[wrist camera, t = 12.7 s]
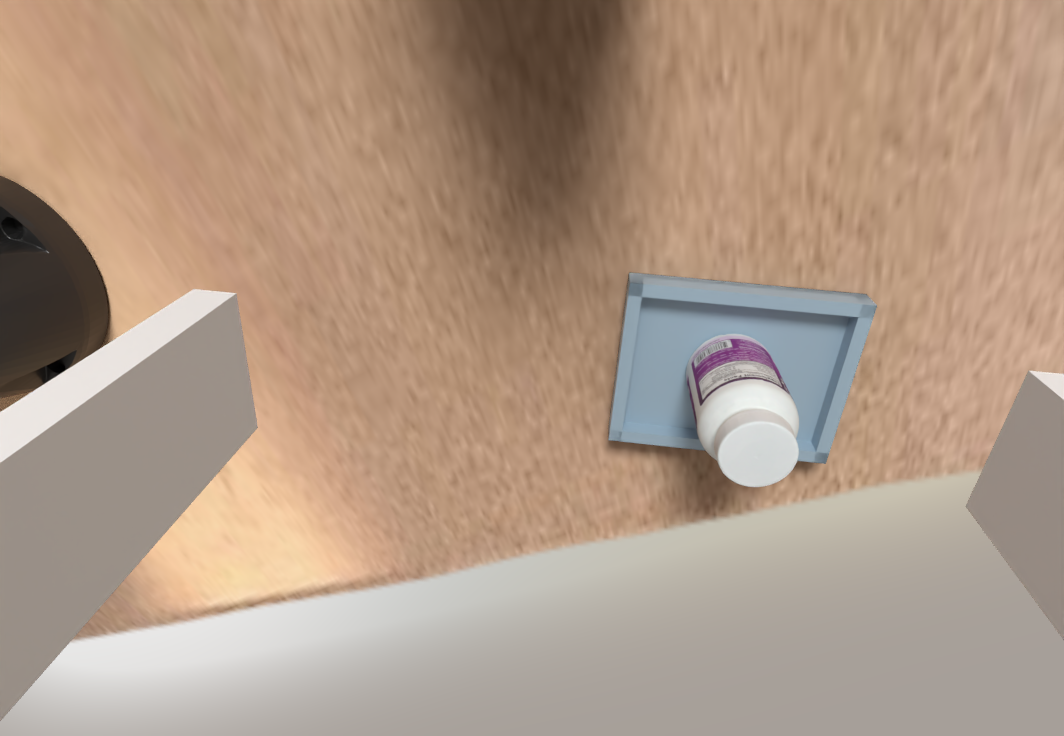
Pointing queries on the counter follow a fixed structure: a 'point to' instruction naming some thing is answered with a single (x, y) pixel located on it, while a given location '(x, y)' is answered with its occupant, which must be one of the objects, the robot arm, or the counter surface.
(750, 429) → the pill bottle
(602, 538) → the counter surface
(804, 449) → the tray
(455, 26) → the counter surface
